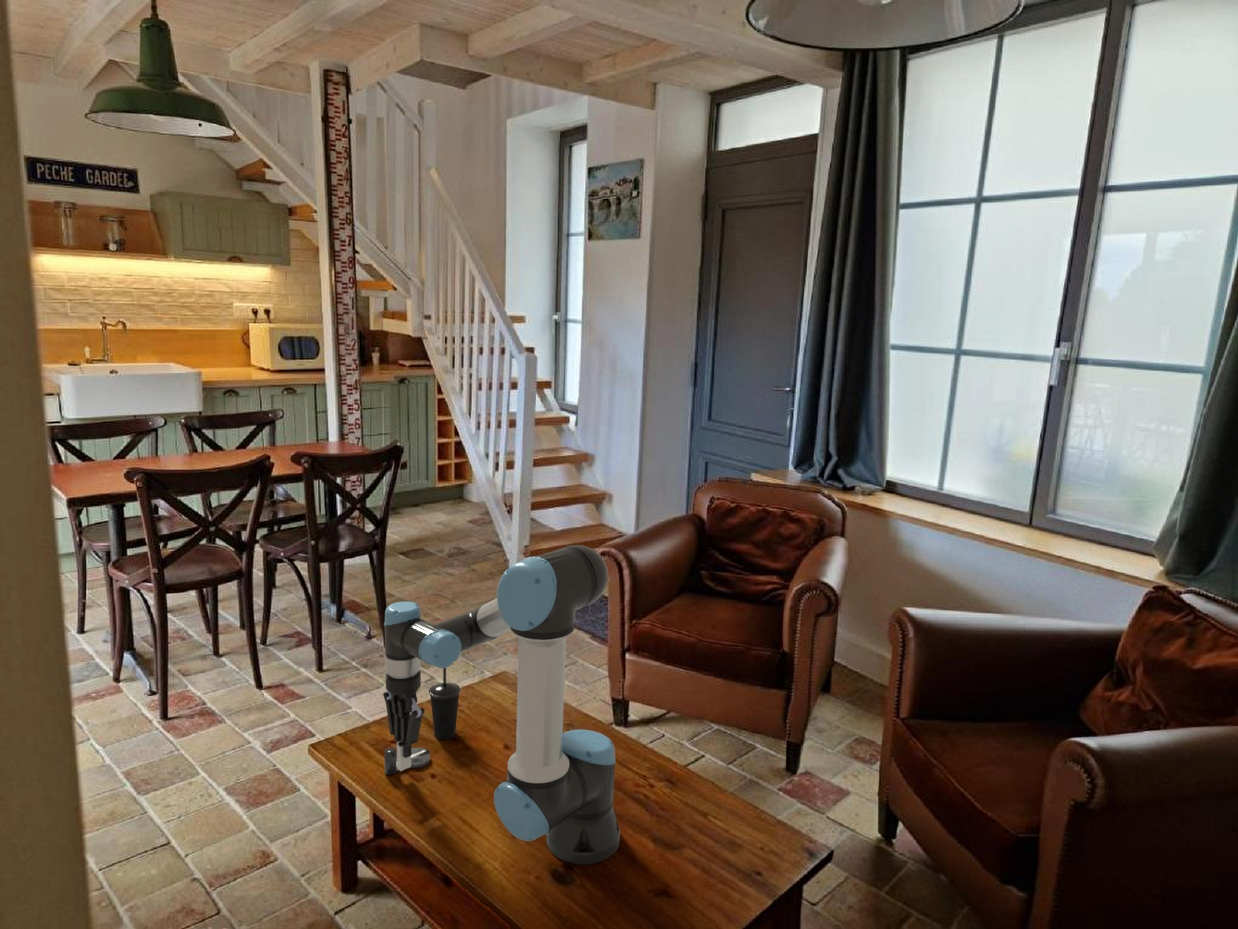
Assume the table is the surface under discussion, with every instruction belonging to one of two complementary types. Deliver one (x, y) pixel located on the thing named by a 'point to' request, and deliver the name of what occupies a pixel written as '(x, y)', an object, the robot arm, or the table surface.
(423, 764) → the crank
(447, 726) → the drinking cup
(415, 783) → the table surface
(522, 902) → the table surface
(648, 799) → the table surface
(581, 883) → the table surface
